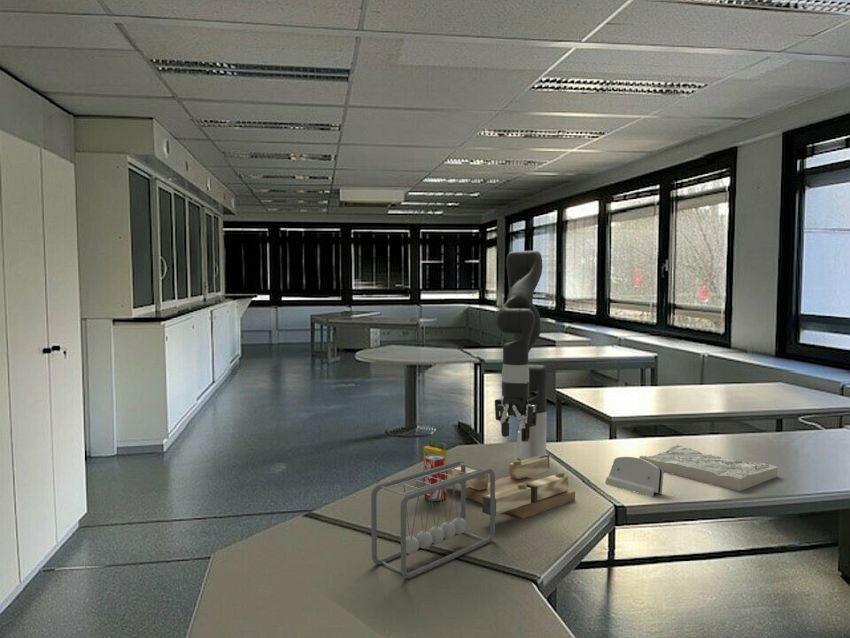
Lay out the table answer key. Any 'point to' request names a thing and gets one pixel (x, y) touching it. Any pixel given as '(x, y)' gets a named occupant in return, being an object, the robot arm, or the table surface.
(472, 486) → the stool seat
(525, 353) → the robot arm
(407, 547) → the newton's cradle
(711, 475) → the topographic model
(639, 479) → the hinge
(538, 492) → the stool leg
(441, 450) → the crayon box
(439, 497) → the soda can
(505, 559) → the table surface
